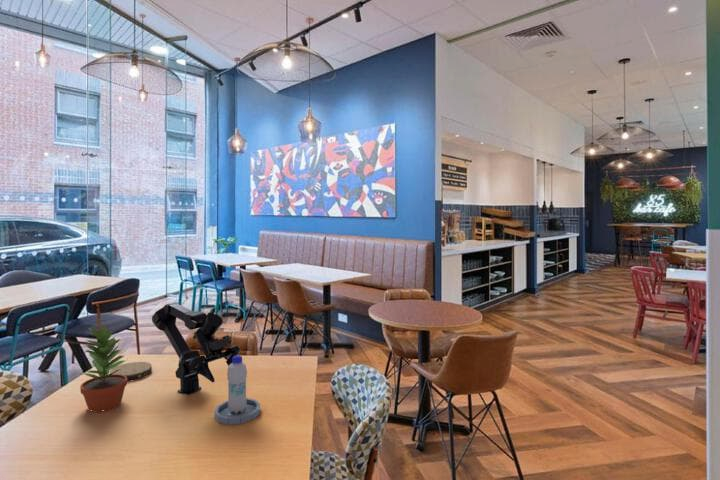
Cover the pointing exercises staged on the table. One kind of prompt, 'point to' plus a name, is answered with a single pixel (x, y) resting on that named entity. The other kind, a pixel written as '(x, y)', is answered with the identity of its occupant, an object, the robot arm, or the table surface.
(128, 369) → the wood slice
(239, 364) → the bottle
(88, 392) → the potted plant
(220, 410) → the bowl
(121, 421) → the table surface
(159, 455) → the table surface
